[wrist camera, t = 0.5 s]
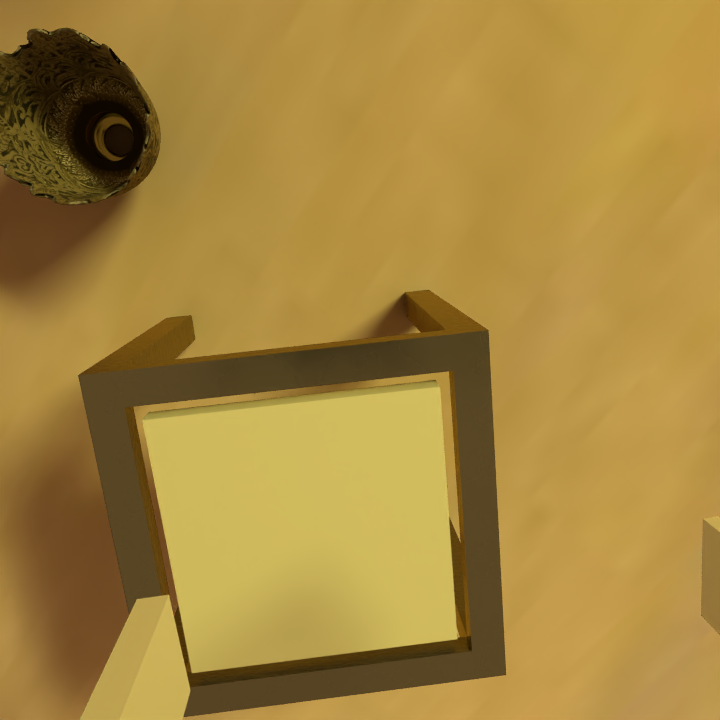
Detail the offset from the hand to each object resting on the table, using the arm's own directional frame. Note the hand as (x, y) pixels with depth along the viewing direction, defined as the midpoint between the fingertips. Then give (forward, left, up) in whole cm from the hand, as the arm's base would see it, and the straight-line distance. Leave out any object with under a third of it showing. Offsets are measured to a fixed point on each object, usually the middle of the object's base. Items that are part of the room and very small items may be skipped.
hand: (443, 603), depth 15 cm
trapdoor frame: (+4, -4, -25) cm, 25 cm away
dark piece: (-15, -13, -25) cm, 32 cm away
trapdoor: (+4, -4, -12) cm, 13 cm away
